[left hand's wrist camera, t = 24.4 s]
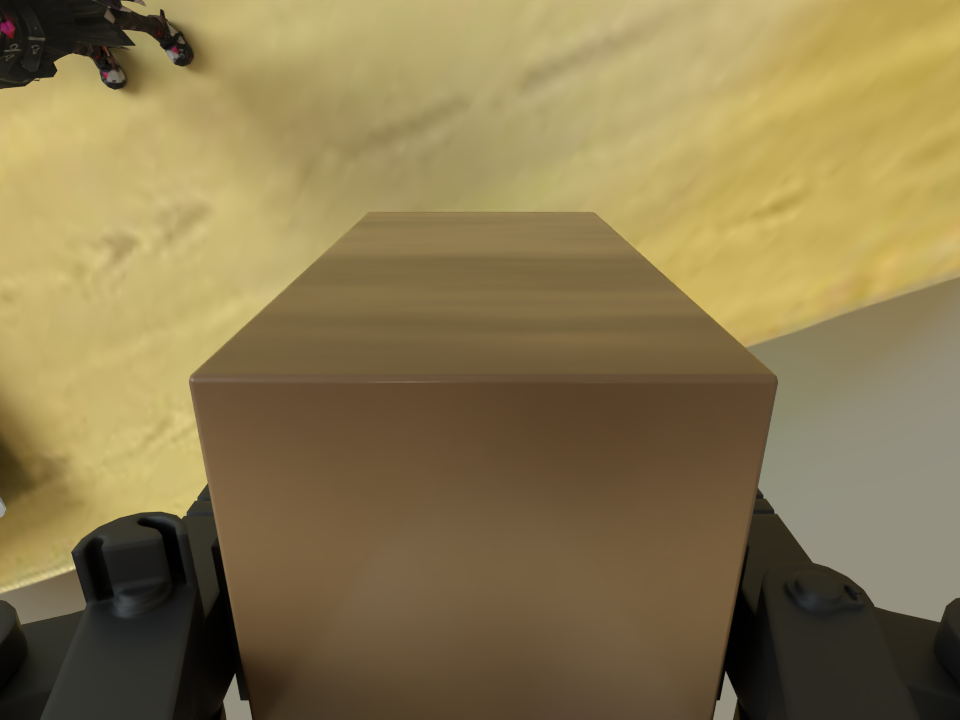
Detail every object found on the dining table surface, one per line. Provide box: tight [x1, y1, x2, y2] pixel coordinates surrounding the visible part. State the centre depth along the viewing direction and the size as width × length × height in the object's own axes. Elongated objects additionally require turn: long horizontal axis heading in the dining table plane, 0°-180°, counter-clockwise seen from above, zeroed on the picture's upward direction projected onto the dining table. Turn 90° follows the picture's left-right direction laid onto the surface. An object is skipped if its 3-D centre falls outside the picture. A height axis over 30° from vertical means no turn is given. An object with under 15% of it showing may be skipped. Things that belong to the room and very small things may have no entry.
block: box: [189, 212, 778, 720], centre depth 12 cm, size 9×5×10 cm, turn 0°
